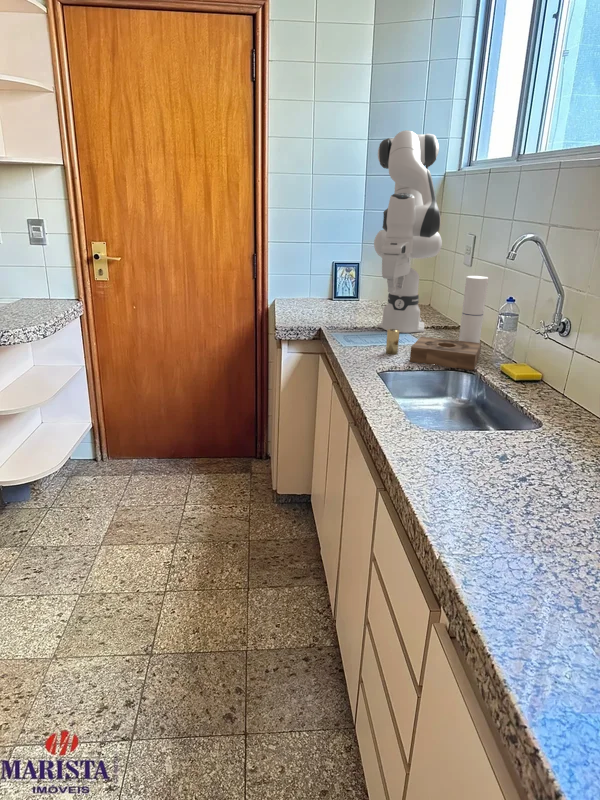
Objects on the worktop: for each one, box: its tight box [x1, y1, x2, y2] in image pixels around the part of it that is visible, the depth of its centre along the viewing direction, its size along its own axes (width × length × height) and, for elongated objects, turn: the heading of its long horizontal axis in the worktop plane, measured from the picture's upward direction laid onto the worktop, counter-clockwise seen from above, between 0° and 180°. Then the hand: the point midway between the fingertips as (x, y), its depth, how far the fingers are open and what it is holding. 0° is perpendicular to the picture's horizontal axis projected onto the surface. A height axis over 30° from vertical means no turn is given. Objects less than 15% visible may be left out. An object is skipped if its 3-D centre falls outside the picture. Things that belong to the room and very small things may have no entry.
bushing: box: [385, 329, 400, 356], centre depth 187 cm, size 4×4×8 cm
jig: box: [409, 336, 482, 371], centre depth 181 cm, size 16×20×5 cm
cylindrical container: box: [458, 275, 489, 343], centre depth 192 cm, size 7×7×25 cm
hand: (395, 290), depth 181 cm, fingers open, 8 cm apart
